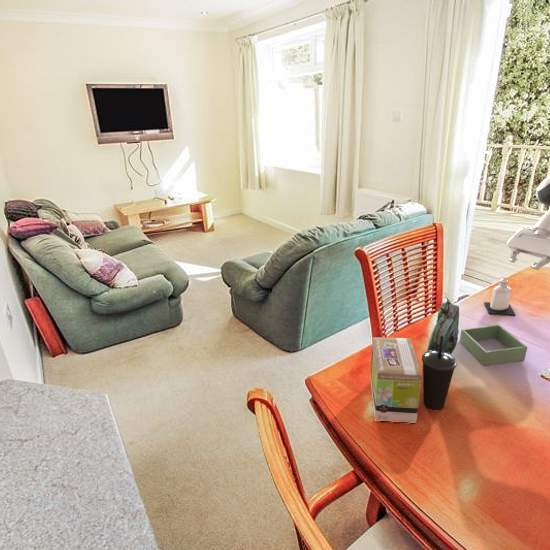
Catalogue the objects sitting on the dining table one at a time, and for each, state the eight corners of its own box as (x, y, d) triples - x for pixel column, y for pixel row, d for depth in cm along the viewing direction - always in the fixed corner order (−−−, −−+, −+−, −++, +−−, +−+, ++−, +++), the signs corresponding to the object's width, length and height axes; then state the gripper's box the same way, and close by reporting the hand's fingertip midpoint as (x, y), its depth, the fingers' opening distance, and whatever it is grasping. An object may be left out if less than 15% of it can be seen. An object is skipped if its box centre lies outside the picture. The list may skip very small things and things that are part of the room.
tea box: (418, 425, 88) (423, 374, 82) (374, 422, 90) (375, 373, 84) (407, 382, 102) (411, 336, 96) (369, 380, 103) (371, 335, 97)
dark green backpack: (436, 346, 115) (443, 288, 107) (459, 352, 112) (468, 292, 103) (418, 384, 100) (425, 320, 92) (444, 393, 97) (453, 327, 89)
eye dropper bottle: (508, 312, 128) (514, 280, 124) (489, 309, 131) (495, 278, 126) (507, 306, 132) (514, 275, 127) (489, 303, 134) (495, 273, 130)
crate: (496, 336, 117) (499, 324, 115) (524, 360, 106) (527, 347, 104) (459, 341, 116) (461, 329, 115) (483, 365, 105) (485, 352, 103)
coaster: (509, 304, 134) (509, 303, 134) (515, 316, 127) (515, 314, 127) (484, 303, 136) (484, 302, 136) (489, 314, 129) (489, 313, 129)
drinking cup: (443, 420, 89) (453, 350, 81) (412, 405, 94) (418, 339, 86) (454, 401, 94) (465, 334, 86) (424, 389, 99) (431, 324, 91)
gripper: (518, 220, 131) (493, 253, 133) (574, 230, 112) (544, 267, 114) (528, 230, 133) (503, 262, 135) (585, 242, 114) (555, 278, 116)
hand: (522, 265), depth 124 cm, fingers open, 8 cm apart
